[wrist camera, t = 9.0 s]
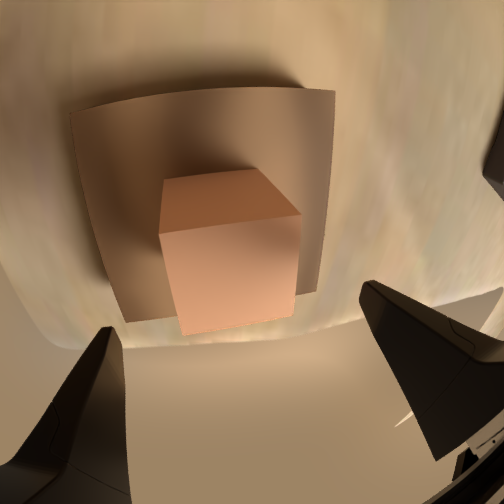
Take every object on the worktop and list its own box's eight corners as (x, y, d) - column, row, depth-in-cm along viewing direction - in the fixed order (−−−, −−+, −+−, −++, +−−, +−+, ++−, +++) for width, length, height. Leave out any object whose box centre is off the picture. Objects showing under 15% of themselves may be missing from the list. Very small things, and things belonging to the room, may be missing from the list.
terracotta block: (257, 168, 15) (302, 214, 10) (258, 247, 18) (293, 315, 13) (163, 179, 14) (158, 234, 9) (176, 259, 17) (182, 335, 12)
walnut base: (305, 88, 17) (335, 90, 14) (296, 261, 24) (316, 291, 21) (90, 107, 14) (69, 113, 11) (129, 287, 22) (125, 322, 18)
